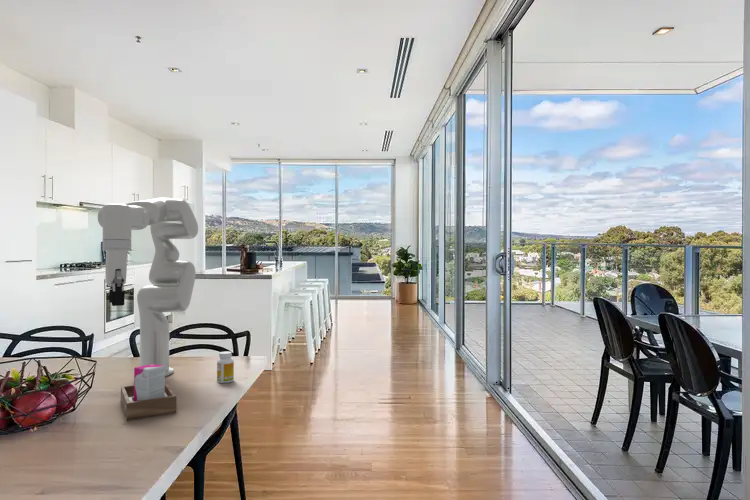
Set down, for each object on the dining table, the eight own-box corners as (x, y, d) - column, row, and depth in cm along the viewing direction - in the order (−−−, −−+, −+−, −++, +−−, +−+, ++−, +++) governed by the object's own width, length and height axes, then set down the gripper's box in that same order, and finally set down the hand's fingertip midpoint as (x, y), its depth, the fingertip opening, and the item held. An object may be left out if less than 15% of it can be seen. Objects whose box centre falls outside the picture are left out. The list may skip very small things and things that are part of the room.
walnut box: (120, 402, 140) (120, 386, 140) (165, 395, 147) (165, 380, 147) (127, 420, 125) (127, 403, 125) (176, 412, 132) (176, 396, 132)
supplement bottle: (236, 379, 166) (236, 351, 166) (229, 383, 160) (230, 354, 160) (220, 378, 166) (221, 350, 166) (214, 383, 161) (214, 353, 161)
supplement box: (165, 406, 135) (165, 365, 135) (147, 412, 130) (147, 369, 130) (151, 403, 138) (151, 363, 138) (132, 409, 132) (132, 367, 132)
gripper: (100, 245, 148) (100, 301, 148) (104, 245, 133) (103, 307, 133) (128, 246, 152) (127, 300, 152) (134, 245, 137) (134, 306, 137)
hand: (116, 303), depth 142 cm, fingers open, 9 cm apart
